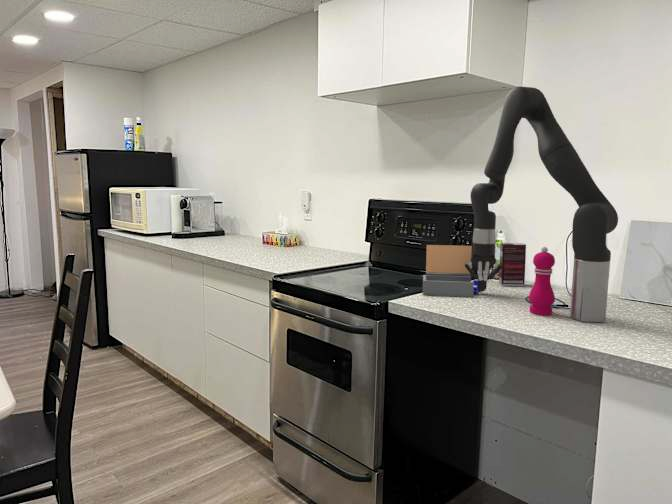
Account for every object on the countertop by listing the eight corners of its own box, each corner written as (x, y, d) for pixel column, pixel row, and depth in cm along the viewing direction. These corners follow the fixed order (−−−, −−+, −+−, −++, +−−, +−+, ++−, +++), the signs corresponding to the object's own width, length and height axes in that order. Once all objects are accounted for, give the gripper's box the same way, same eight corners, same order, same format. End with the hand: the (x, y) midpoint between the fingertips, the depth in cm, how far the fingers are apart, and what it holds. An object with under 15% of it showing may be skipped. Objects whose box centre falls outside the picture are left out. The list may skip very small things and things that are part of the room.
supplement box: (521, 284, 193) (523, 242, 191) (524, 286, 188) (526, 244, 186) (497, 283, 194) (499, 242, 192) (500, 286, 189) (502, 244, 187)
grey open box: (473, 296, 172) (473, 282, 171) (422, 295, 175) (423, 280, 174) (470, 290, 183) (470, 276, 182) (422, 288, 185) (423, 274, 185)
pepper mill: (538, 316, 147) (542, 249, 145) (522, 310, 154) (526, 245, 151) (559, 315, 149) (563, 248, 146) (543, 309, 156) (547, 245, 153)
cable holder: (472, 296, 174) (473, 284, 174) (463, 294, 177) (464, 283, 176) (483, 292, 180) (484, 281, 180) (474, 290, 182) (475, 279, 182)
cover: (471, 245, 182) (471, 245, 183) (426, 244, 185) (426, 244, 185) (471, 275, 182) (470, 275, 182) (425, 274, 184) (425, 274, 185)
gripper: (465, 242, 171) (463, 292, 174) (505, 243, 169) (503, 294, 171) (463, 239, 179) (461, 287, 181) (502, 240, 176) (500, 289, 179)
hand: (481, 290), depth 176 cm, fingers closed
